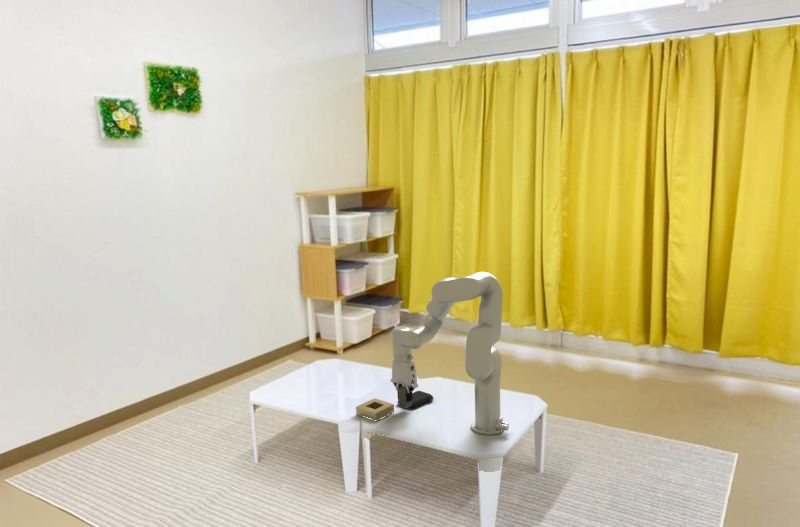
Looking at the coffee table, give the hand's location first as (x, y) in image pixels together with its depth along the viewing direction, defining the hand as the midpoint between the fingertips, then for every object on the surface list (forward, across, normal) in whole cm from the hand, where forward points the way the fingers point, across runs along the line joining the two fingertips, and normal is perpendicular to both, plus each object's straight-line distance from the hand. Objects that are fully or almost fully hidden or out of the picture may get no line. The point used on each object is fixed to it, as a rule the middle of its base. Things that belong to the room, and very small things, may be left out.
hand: (405, 399), depth 229 cm
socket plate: (+5, +9, +9) cm, 14 cm away
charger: (+3, 0, 0) cm, 3 cm away
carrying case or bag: (+6, +2, -10) cm, 12 cm away
